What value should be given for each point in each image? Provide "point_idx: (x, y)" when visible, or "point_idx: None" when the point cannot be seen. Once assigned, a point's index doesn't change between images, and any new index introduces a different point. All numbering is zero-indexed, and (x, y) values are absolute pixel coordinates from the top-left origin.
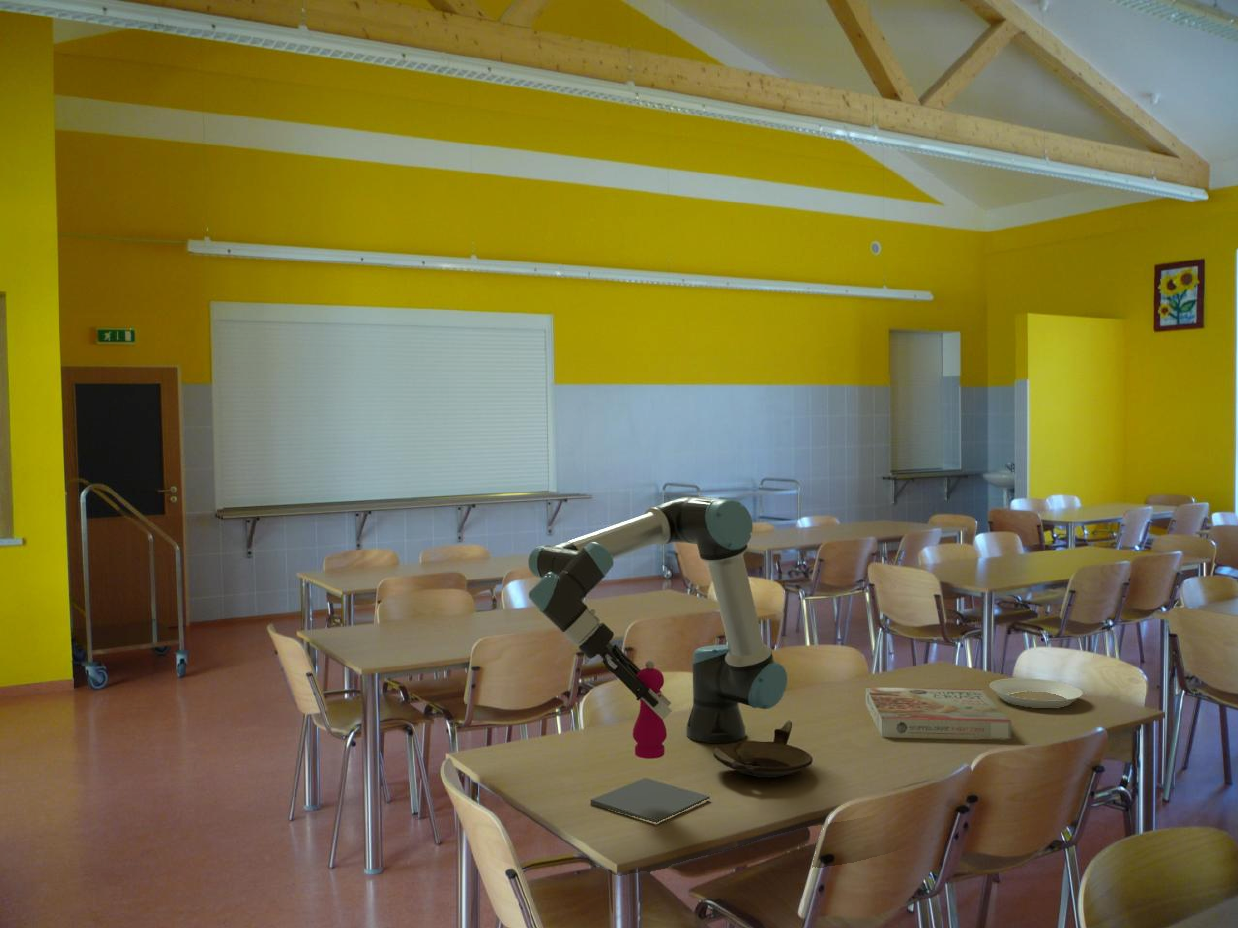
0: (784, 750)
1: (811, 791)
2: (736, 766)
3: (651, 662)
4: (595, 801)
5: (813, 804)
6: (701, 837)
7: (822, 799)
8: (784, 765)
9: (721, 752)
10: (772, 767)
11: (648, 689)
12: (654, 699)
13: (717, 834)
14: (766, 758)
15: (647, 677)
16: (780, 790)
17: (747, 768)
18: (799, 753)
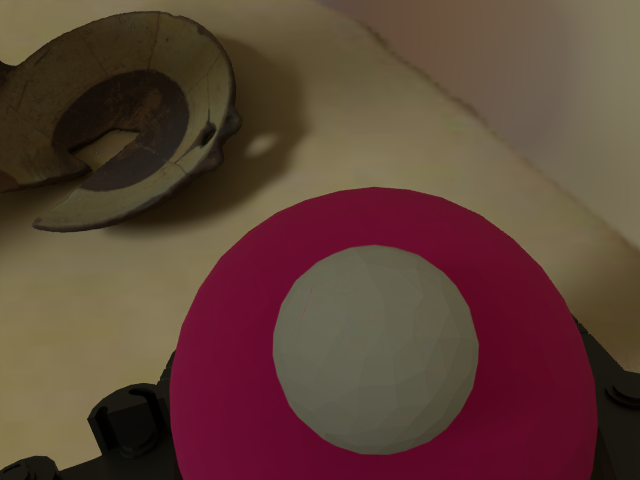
0: (39, 76)
1: (252, 42)
2: (220, 157)
3: (418, 280)
4: None
5: (331, 37)
6: (604, 249)
7: (299, 23)
8: (107, 87)
9: (54, 214)
10: (105, 114)
11: (624, 378)
12: (579, 325)
13: (570, 212)
14: (57, 123)
15: (594, 390)
16: (249, 97)
17: (232, 131)
18: (73, 45)
